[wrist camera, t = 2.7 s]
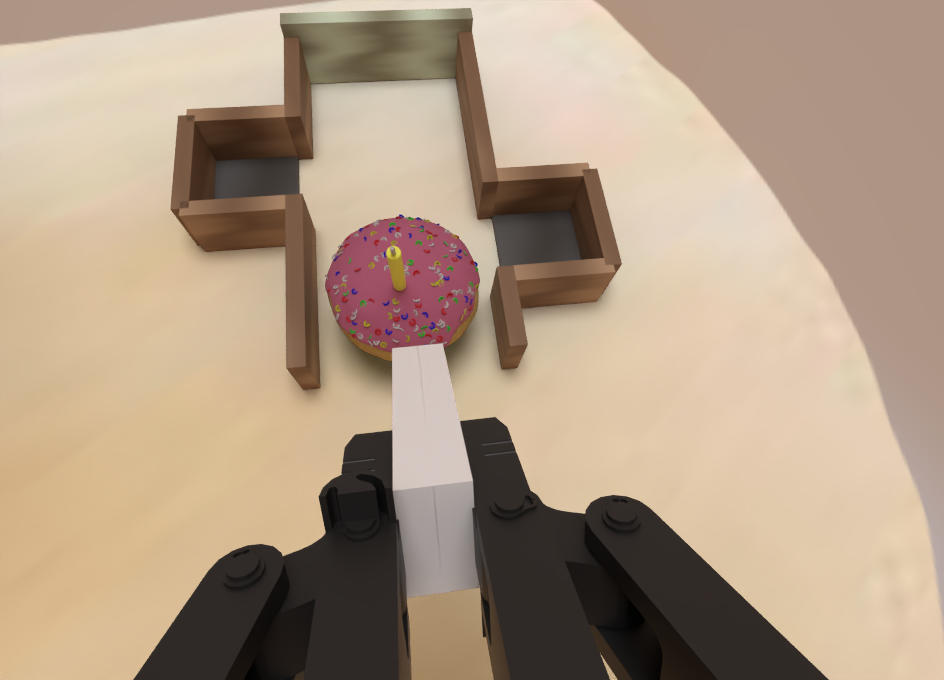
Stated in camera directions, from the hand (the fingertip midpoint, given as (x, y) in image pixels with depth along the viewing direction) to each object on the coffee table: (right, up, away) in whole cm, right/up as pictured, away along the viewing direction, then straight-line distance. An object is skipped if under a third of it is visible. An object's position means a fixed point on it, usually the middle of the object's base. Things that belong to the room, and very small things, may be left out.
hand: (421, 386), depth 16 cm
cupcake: (-3, +3, +18) cm, 19 cm away
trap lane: (-4, +10, +21) cm, 24 cm away
